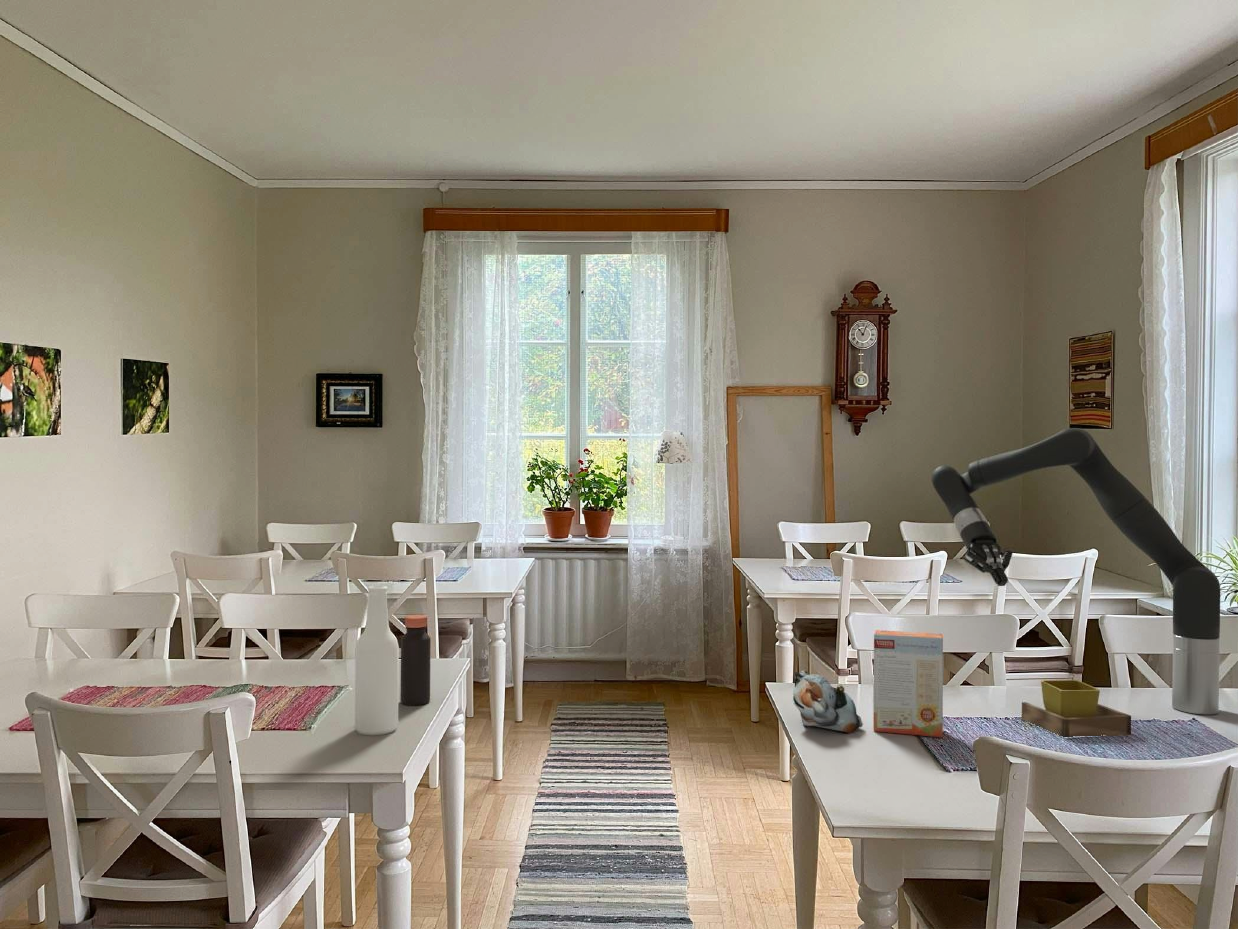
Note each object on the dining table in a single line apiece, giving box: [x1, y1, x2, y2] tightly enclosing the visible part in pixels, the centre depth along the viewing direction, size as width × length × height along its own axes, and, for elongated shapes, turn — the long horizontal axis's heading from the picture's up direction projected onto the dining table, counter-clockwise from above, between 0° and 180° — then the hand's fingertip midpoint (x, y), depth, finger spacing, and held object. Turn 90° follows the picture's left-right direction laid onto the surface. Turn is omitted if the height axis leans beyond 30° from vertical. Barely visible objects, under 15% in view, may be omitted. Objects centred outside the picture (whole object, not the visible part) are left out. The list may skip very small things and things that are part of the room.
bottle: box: [399, 614, 432, 706], centre depth 216 cm, size 7×7×20 cm
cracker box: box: [872, 629, 944, 738], centre depth 196 cm, size 14×6×21 cm, turn 71°
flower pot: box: [1040, 679, 1101, 718], centre depth 201 cm, size 9×9×9 cm
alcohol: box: [354, 585, 400, 736], centre depth 193 cm, size 9×9×30 cm
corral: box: [1021, 701, 1132, 737], centre depth 200 cm, size 14×16×4 cm
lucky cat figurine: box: [792, 669, 864, 734], centre depth 199 cm, size 15×12×14 cm
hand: (1003, 584), depth 224 cm, fingers closed
